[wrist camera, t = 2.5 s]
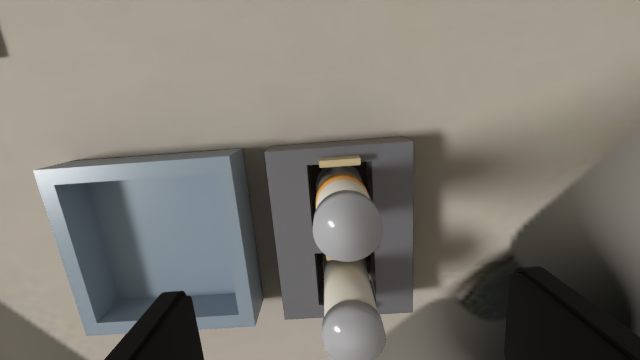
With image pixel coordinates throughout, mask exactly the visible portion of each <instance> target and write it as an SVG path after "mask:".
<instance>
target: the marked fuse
mask: <svg viewBox="0 0 640 360" xmlns="http://www.w3.org/2000/svg"><path fill="white" fill-rule="evenodd" d="M316 191H317V194H316V211H315V214H314V219H313V237H314V240H315V242H316V245H317V246H318V248H319V249H320V250H321V251H322V252H323V253H324V254H325V255H327V256H328V257H330V258H332V259H334V260H337V261H342V262H352V261H357V260H361V259H363V258H365V257H367V256H368V255H370V254H371V253H372V252H373V251H374V250H375V249H376V248H377V247H378V245H379V243H380V241H381V239H382V236H383V222H382V218H381V216H380V214H379V212H378V210H377V208H376V206H375V204H374V203H373V202H372V201H371V200H370V196H369V194H368V192H367V190H366V188H365V186H364V184H363V180H362V178H361V176H360V174H359V172H358V170H357V169H356V168H355V167H354V166H339V167H325V168H322V170H321V171H320V172H319V174H318V177H317V182H316Z"/></svg>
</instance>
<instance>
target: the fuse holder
mask: <svg viewBox="0 0 640 360" xmlns="http://www.w3.org/2000/svg"><path fill="white" fill-rule="evenodd" d="M264 155H265V163H266V171H267V179H268V187H269V195H270V203H271V211H272V220H273V228H274V236H275V244H276V252H277V260H278V268H279V276H280V285H281V293H282V301H283V309H284V317H285V320H287V319H304V318H322V317H324V284H319V274H318V262H317V253H323V252H322V251H321V250H320V249H319V248H318V246H317V245H316V242H315V240H314V237H313V219H314V214H315V212H313V204H312V193H311V181H310V169H309V165H318V164H319V168H325V167H339V166H353V165H361V161H367V186H368V194H369V196H370V200H371V201H372V202H373V203H374V204H375V206H376V208H377V210H378V212H379V214H380V216H381V218H382V222H383V236H382V239H381V241H380V243H379V245H378V247H377V248H376V249H375V250H374V251H373V252H372V253H371V254H370V268H371V281H370V284H371V288H372V292H373V296H374V300H375V304H376V308H377V311H378V313H379V314H392V313H409V312H413V141H412V140H409V139H407V138H405V137H403V136H401V137H388V138H374V139H361V140H347V141H334V142H320V143H306V144H293V145H279V146H271V147H269V148H268V149H267V150H266V151H265V152H264ZM326 259H327V261H328V260H334V259H332V258H330V257H328V256H327V255H326Z"/></svg>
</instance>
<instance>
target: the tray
mask: <svg viewBox="0 0 640 360" xmlns="http://www.w3.org/2000/svg"><path fill="white" fill-rule="evenodd" d="M33 172H34V175H35V178H36V181H37V184H38V187H39V190H40V193H41V196H42V199H43V203H44V206H45V209H46V212H47V215H48V218H49V221H50V224H51V227H52V230H53V233H54V237H55V240H56V243H57V246H58V249H59V252H60V255H61V258H62V261H63V264H64V267H65V271H66V274H67V277H68V280H69V283H70V286H71V289H72V292H73V295H74V298H75V301H76V305H77V308H78V311H79V314H80V317H81V320H82V323H83V326H84V329H85V332H86V335H87V336H92V335H110V334H127V333H128V331H129V330H130V329H131V328H132V327H133V326H134V324H135V323H136V322H137V321H138V320H139V319H140V317H141V316H142V315H143V314H144V313H145V312H146V310H147V309H148V308H149V307H150V306H151V305H152V303H153V302H154V301H155V300H156V299H157V298H158V296H159V295H160V294H161V293H163V292H172V291H184V292H185V293H186V295H187V296H191V298H192V301H193V306H194V311H195V316H196V321H197V326H198V330H199V329H216V328H234V327H252V326H256V322H257V319H258V316H259V312H260V309H261V306H262V302H263V292H262V285H261V278H260V270H259V263H258V256H257V249H256V242H255V235H254V228H253V221H252V214H251V207H250V200H249V193H248V185H247V178H246V171H245V164H244V157H243V150H242V148H239V149H225V150H211V151H198V152H184V153H171V154H157V155H144V156H130V157H116V158H103V159H89V160H76V161H69V162H65V163H61V164H57V165H53V166H49V167H45V168H41V169H36V170H33Z"/></svg>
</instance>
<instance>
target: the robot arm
mask: <svg viewBox="0 0 640 360" xmlns="http://www.w3.org/2000/svg"><path fill="white" fill-rule="evenodd" d="M504 354H505V358H506V360H640V337H639V336H637V335H636V334H635V333H633V332H632V331H631V330H629V329H628V328H626V327H625V326H624V325H622V324H621V323H619V322H618V321H616V320H615V319H614V318H612V317H611V316H610V315H608V314H607V313H605V312H604V311H602V310H601V309H600V308H598V307H597V306H596V305H594V304H593V303H591V302H590V301H588V300H587V299H586V298H584V297H583V296H582V295H580V294H579V293H577V292H576V291H575V290H573V289H572V288H570V287H569V286H567V285H566V284H564V283H563V282H562V281H560V280H559V279H558V278H556V277H555V276H553V275H552V274H551V273H549V272H548V271H547V270H545V269H544V268H542V267H538V266H537V267H522V268H517V269H516V270H515V273H513V274H511V276H510V280H509V293H508V306H507V319H506V332H505V346H504ZM105 360H204V357H203V352H202V347H201V342H200V336H199V331H198V326H197V321H196V316H195V311H194V306H193V301H192V298H191V296H187V295H186V293H185V292H184V291H172V292H163V293H161V294H160V295H159V296H158V298H157V299H156V300H155V301H154V302H153V303H152V305H151V306H150V307H149V308H148V309H147V310H146V312H145V313H144V314H143V315H142V316H141V317H140V319H139V320H138V321H137V322H136V323H135V324H134V326H133V327H132V328H131V329H130V330H129V331H128V333H127V334H126V335H125V336H124V337H123V338H122V340H121V341H120V342H119V343H118V344H117V346H116V347H115V348H114V349H113V350H112V351H111V353H110V354H109V355H108V356H107V357H106V358H105Z"/></svg>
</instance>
